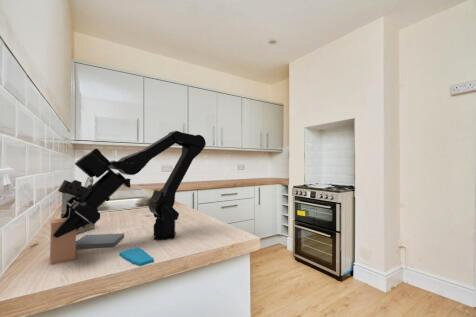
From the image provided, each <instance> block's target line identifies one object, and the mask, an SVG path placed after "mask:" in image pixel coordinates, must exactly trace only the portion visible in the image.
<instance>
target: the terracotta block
mask: <svg viewBox="0 0 476 317" xmlns="http://www.w3.org/2000/svg"><path fill="white" fill-rule="evenodd" d="M66 219H67V218H62V219H61V218H55V219H51V220H50V240H49V241H50V244H49V245H50V246H49V261H50V262H49V263H50V264H51V265H52V264H58V263H61V262H62V263H63V262H66V261H71V260H75V259H76V251H77V249H76V241H77V234H76V229H75V230H73V231H71V232H69V233H66V234H64V235H62V236H60V237H58V238H56V237H54V236H53V235H54V233H55V232H56V231H57V230H58V228H59V227H60V226H61V225H62V224H63V222H64V221H65V220H66Z"/></svg>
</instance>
